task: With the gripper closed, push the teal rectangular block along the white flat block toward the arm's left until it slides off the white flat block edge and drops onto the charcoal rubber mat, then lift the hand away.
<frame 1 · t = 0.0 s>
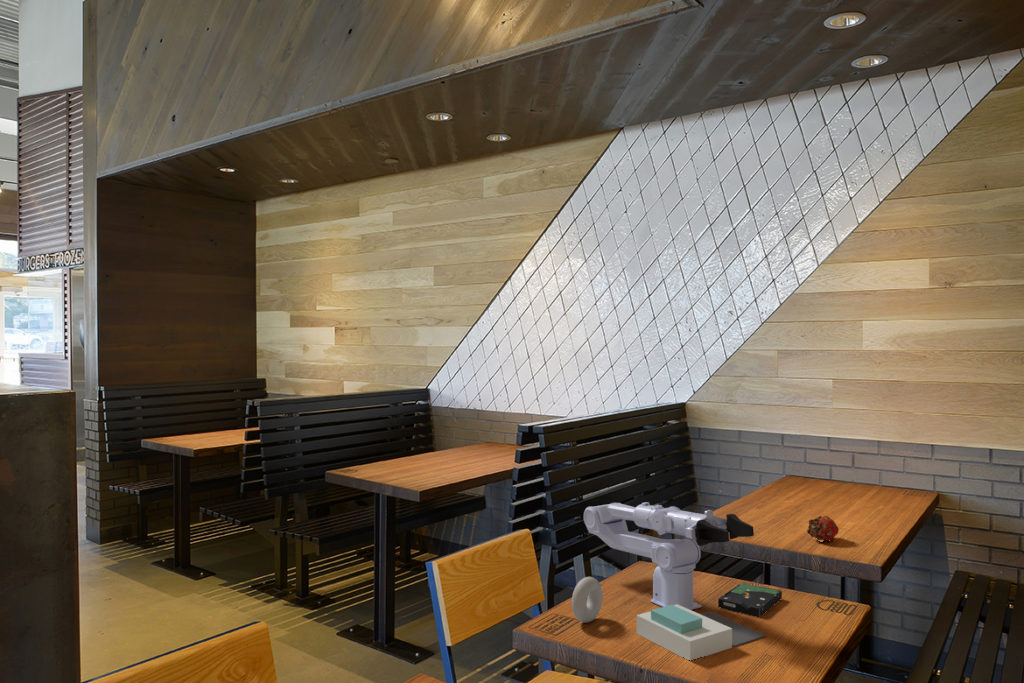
hand: (740, 534, 159), 22 cm above the table, tool horizontal, fingers open, 7 cm apart
donut: (587, 622, 167), on the table
mat: (721, 628, 162), on the table
dragon fruit: (823, 541, 230), on the table
white flat block: (683, 640, 156), on the table
teal rectangular block: (676, 623, 155), point 4 cm above the table, touching white flat block
disk drive: (750, 606, 178), on the table
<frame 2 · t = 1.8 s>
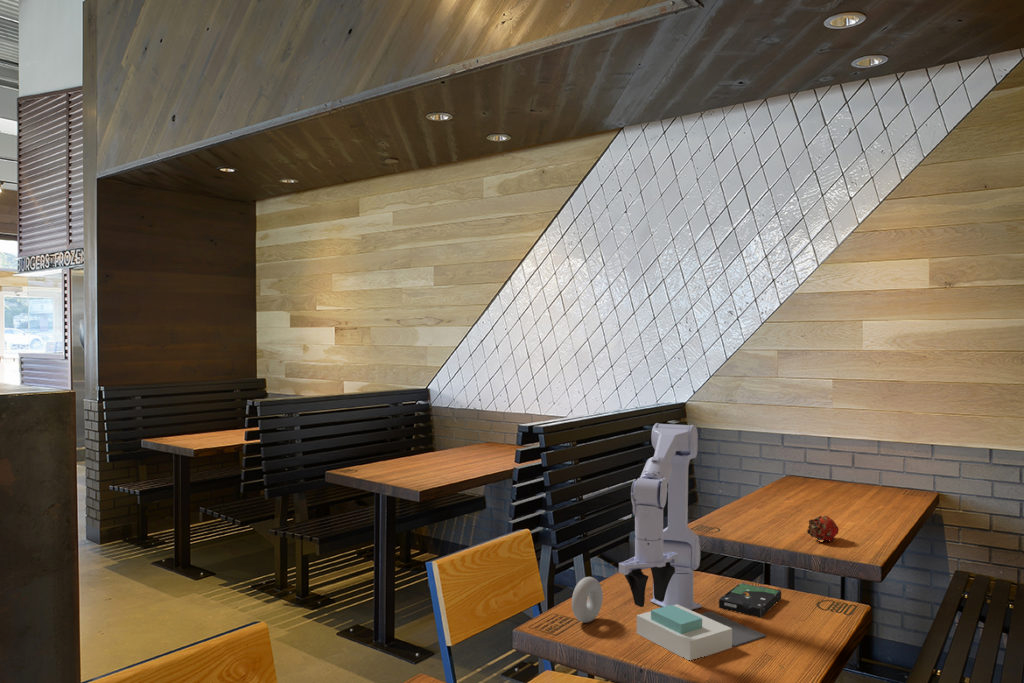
hand: (649, 602, 151), 10 cm above the table, tool pointing down, fingers open, 5 cm apart
nothing on the table moved.
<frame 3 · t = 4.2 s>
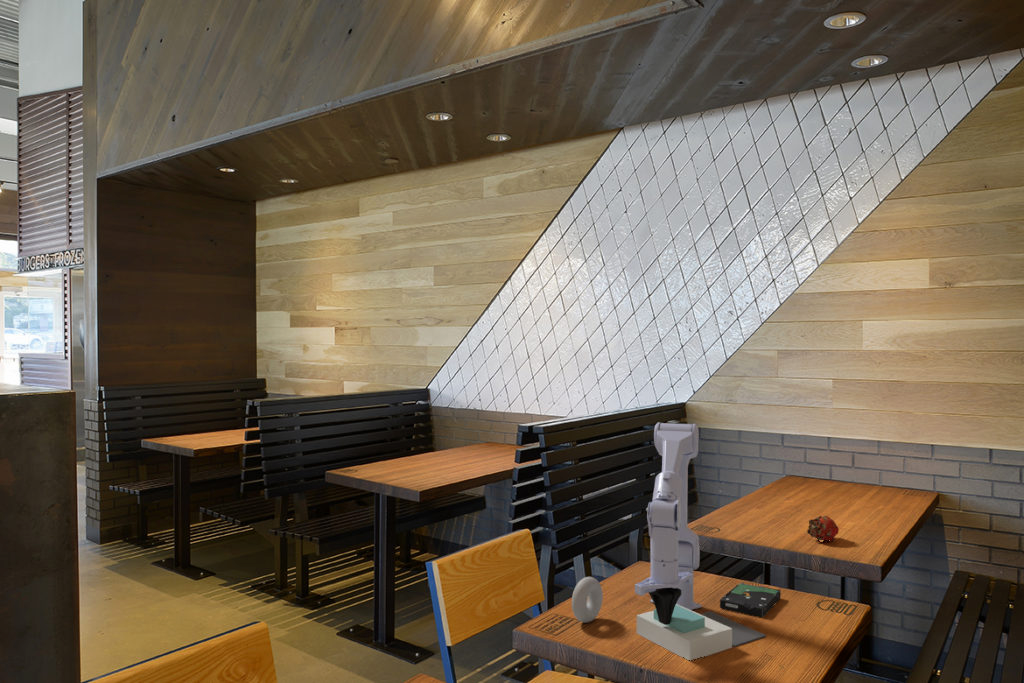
hand: (664, 622, 154), 5 cm above the table, tool pointing down, fingers closed
teal rectangular block: (678, 622, 156), point 4 cm above the table, touching white flat block, gripper
everything else where it was.
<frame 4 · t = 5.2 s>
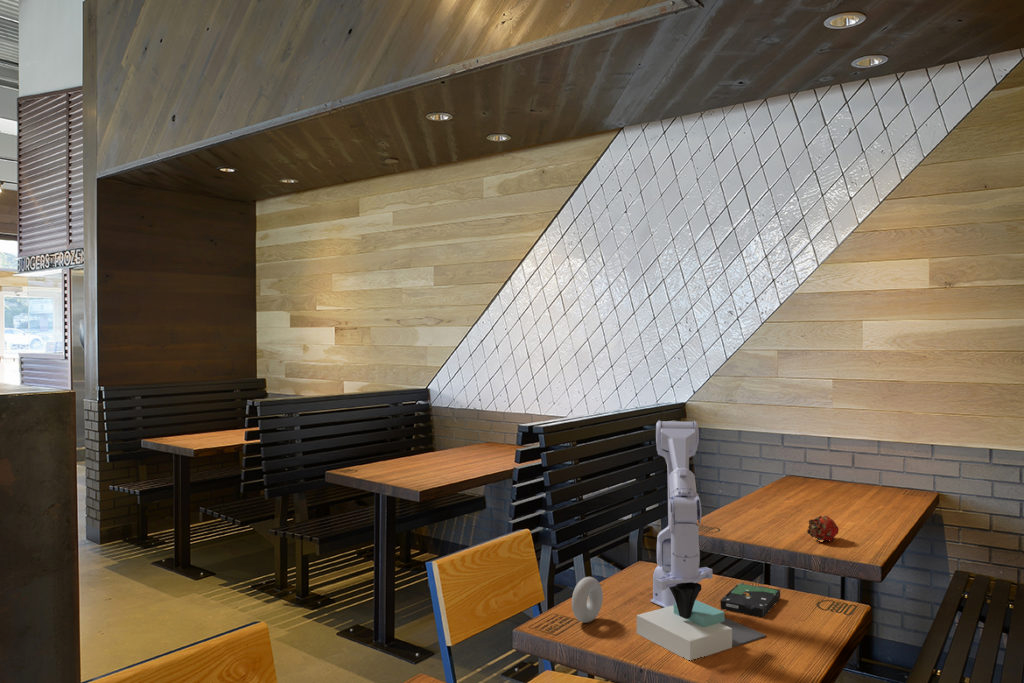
hand: (684, 616, 157), 5 cm above the table, tool pointing down, fingers closed
teal rectangular block: (698, 617, 159), point 4 cm above the table, touching white flat block
everything else where it was.
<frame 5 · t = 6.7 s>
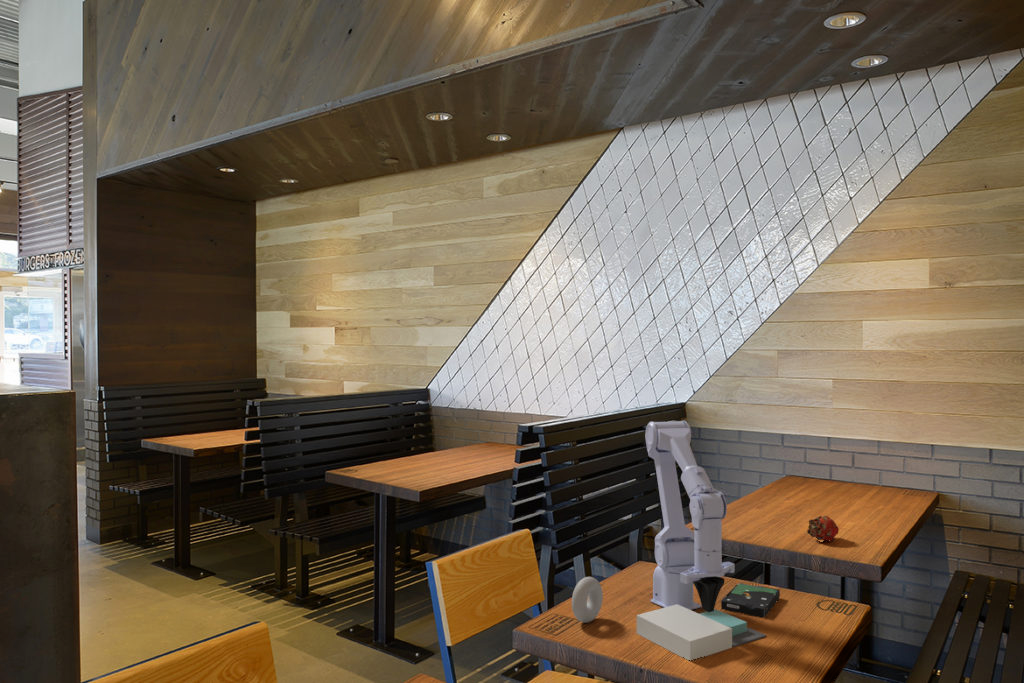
hand: (708, 610, 160), 5 cm above the table, tool pointing down, fingers closed
teal rectangular block: (721, 618, 162), point 2 cm above the table, tilted 180°, touching mat
everything else where it was.
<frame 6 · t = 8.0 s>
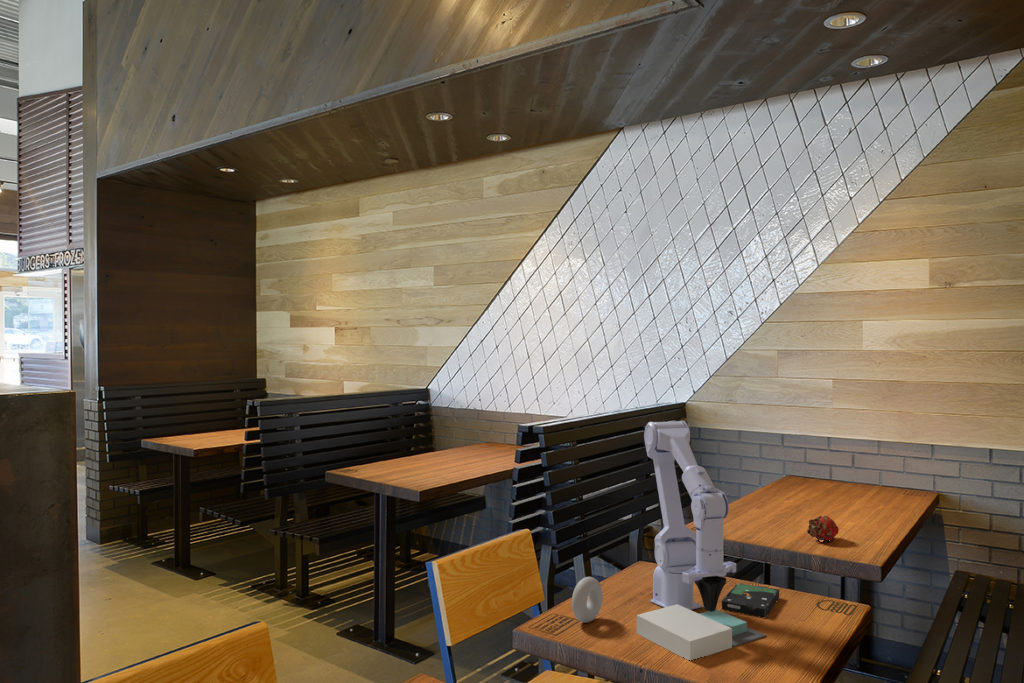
hand: (709, 609, 161), 5 cm above the table, tool pointing down, fingers closed
nothing on the table moved.
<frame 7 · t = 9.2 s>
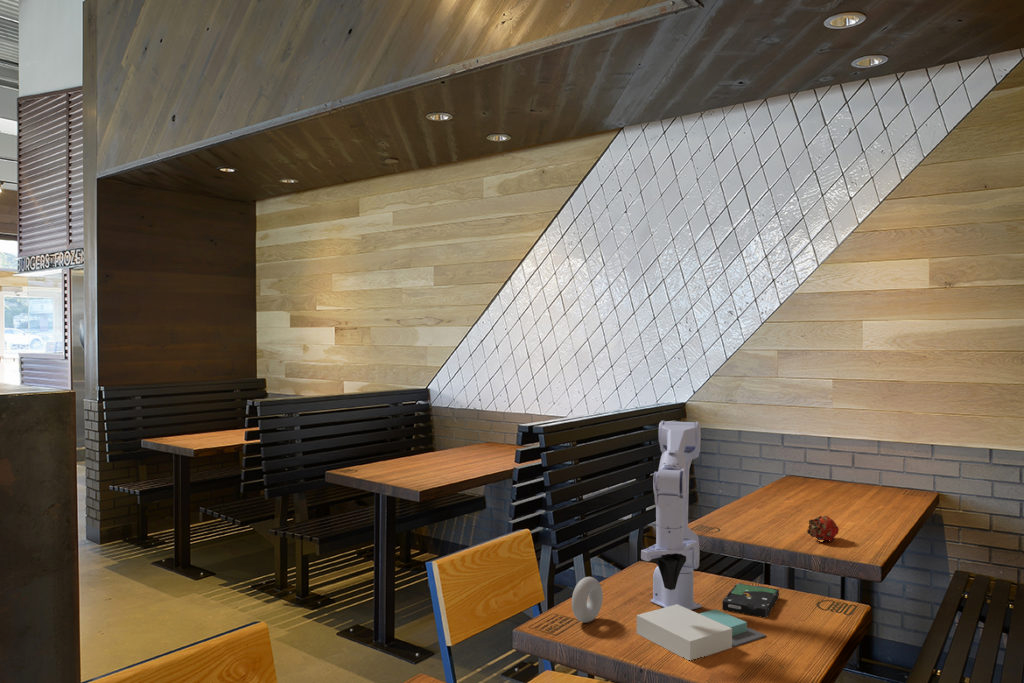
hand: (669, 588, 158), 10 cm above the table, tool pointing down, fingers closed
nothing on the table moved.
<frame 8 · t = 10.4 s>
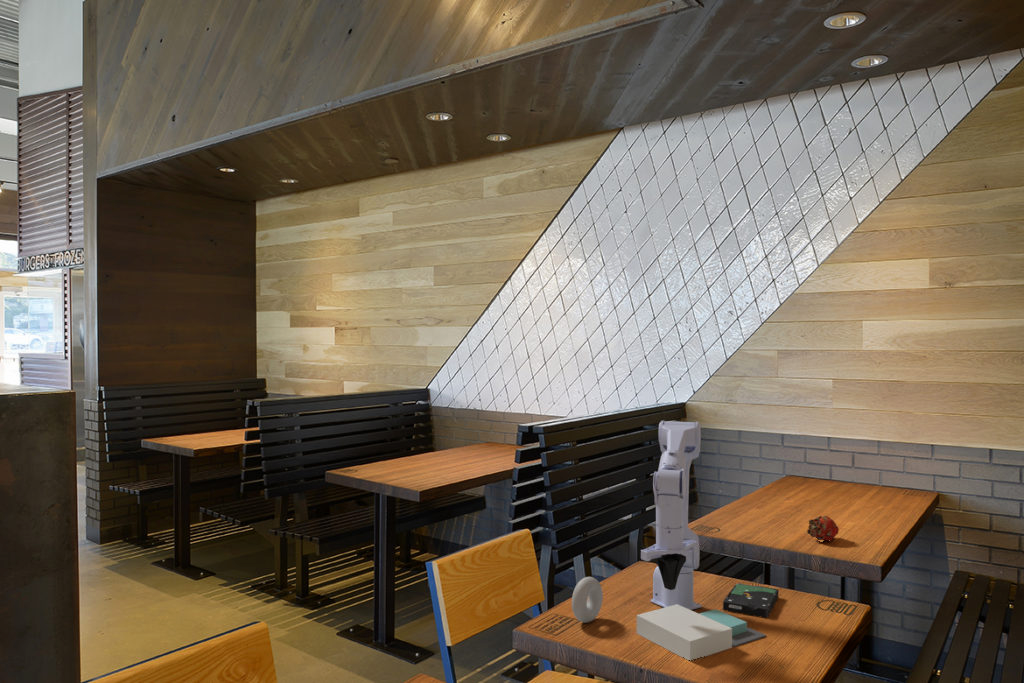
hand: (669, 588, 158), 10 cm above the table, tool pointing down, fingers closed
nothing on the table moved.
at the end: teal rectangular block point 2.3 cm above the table; teal rectangular block inside the target area (0.2 cm from its centre), point 2.3 cm above the table; teal rectangular block touching mat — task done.
